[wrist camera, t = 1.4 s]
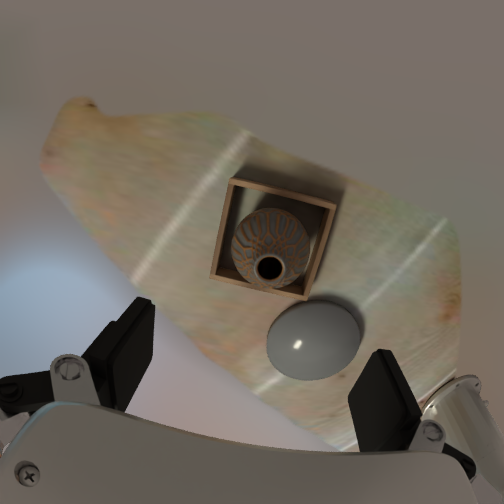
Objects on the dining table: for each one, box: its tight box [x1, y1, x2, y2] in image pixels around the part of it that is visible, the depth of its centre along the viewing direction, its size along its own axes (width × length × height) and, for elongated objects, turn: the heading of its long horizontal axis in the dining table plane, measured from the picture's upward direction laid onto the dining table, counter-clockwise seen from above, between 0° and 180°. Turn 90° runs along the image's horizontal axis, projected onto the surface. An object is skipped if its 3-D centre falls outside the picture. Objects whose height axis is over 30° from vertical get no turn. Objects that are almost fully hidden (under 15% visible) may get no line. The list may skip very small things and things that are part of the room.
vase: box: [231, 208, 310, 289], centre depth 25 cm, size 7×7×9 cm
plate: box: [267, 300, 360, 380], centre depth 32 cm, size 11×11×1 cm
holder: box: [210, 177, 337, 301], centre depth 28 cm, size 10×10×2 cm
